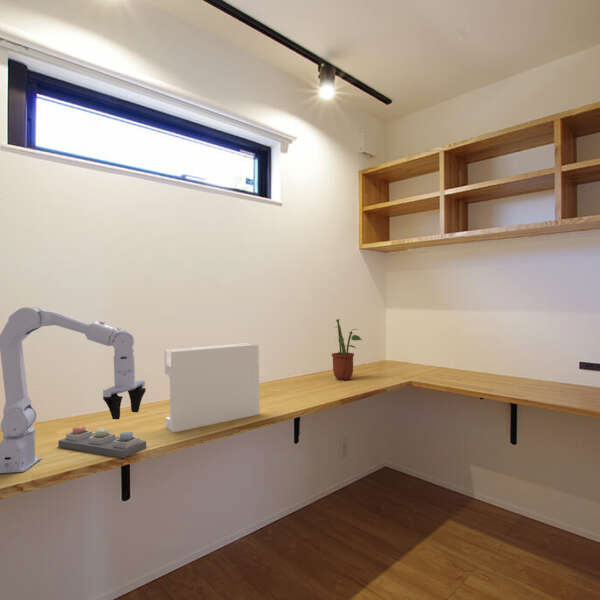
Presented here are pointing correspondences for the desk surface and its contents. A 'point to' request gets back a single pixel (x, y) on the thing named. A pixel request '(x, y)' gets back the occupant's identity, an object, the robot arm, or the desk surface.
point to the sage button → (101, 432)
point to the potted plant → (343, 357)
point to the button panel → (102, 444)
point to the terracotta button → (78, 429)
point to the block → (212, 385)
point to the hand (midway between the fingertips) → (125, 415)
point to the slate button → (126, 436)
